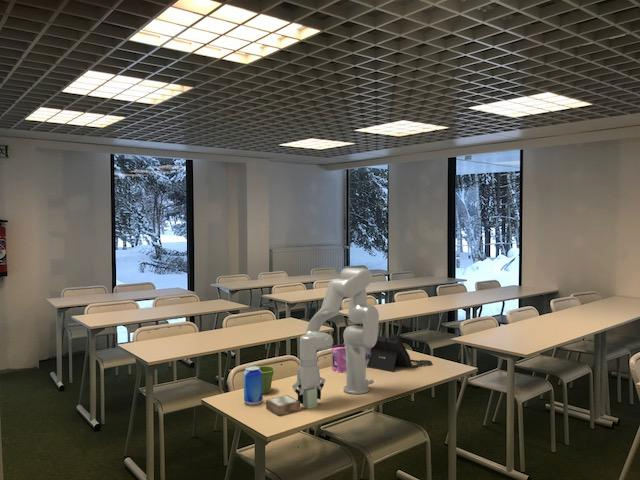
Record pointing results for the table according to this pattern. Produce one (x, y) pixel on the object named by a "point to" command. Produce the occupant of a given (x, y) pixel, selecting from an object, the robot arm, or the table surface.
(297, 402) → the base block
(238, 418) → the table surface
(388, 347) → the office phone
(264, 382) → the plant pot
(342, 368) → the gum box
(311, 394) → the green block
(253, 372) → the beer can
